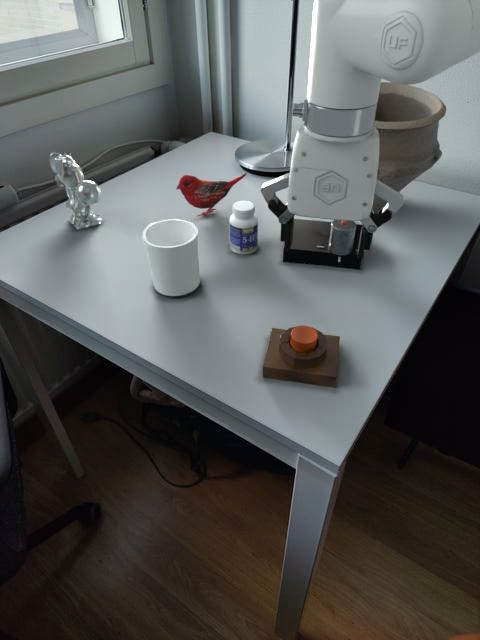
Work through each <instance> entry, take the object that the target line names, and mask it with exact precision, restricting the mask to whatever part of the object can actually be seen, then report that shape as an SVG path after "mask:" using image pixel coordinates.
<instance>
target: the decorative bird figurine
mask: <svg viewBox="0 0 480 640" xmlns="http://www.w3.org/2000/svg"><path fill="white" fill-rule="evenodd" d="M247 175H248V173H244V174H241V175H239V176H238V177H235V178H233V179H231V180H229V181H226V180H220V179H200V178H198V177H197V176H196V175H191V174H184V175H182V176H181V177H180V180H179V181H178V185H177V186H176V188H175V190H180V192H181V194H182V195H183V197H184V199H185V201H186V202H187V203H188V204H189V205H190V206H192V207H194V208H195V209H196V208H197V209H201V210H203V209H207V210H206V211H203V212H202V213H200V214H197V215H196V216H195V217H201V216H207V215H209V214H210V213H213V212H214V211H217V209H216V208H215V206H217V205H218V204H219V203H220V202H221V201H222V200H223V199H224V198H226V197H227V196H228V194H229V192H230V190H231V189H232V188H233V187H234V186H235V185H236V184H237V183H238V182H240V181H241V180H242V179H244V178H245V177H246V176H247Z"/></svg>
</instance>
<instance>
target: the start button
mask: <svg viewBox="0 0 480 640" xmlns="http://www.w3.org/2000/svg"><path fill="white" fill-rule="evenodd" d="M296 326H297V327H296ZM296 326H294V327H295V328H294V329H293V330H292V332H291V341H290V344H291V346H292V348H293V349H294V350H296V351H298V352H304V353H306V352H311V351H313V350H314V349H315V348H316V345H317V338H318V334H317V332H316V330H315V329H316V328H315V329H313V328H314V327H313V326H309V325H296ZM312 327H313V328H312Z"/></svg>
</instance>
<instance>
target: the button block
mask: <svg viewBox="0 0 480 640" xmlns="http://www.w3.org/2000/svg"><path fill="white" fill-rule="evenodd" d="M297 326H298V325H295V326H291V327H288V328H287V329H285V328H277V327H271V328H270V333H269V338H268V341H267V347H266V352H265V356H264V359H263V364H262V378H264V379H273V380H279V381H287V382H293V383H300V384H301V383H302V384H306V385H307V384H308V385H315V386H319V387H321V386H322V387H327V388H336V386H337V380H338V374H339V373H338V372H339V357H340V339H341V336H339V335H332V334H325V333H323V332H322V331H320V330H319V329H316V328H315V327H313V326H311V327H312V328H313V329H315V330H316V332H317V334H318V338H317V345H316V348H315V349H314V350H313V351H311V352H306V353H304V352H298V351H296V350H294V349H293V348H292V346H291V344H290V341H291V332H292V330H293V329H294V328H295V327H297Z"/></svg>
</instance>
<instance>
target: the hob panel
mask: <svg viewBox="0 0 480 640" xmlns="http://www.w3.org/2000/svg"><path fill="white" fill-rule="evenodd" d="M331 224H332V221H325V220H314V219H313V220H312V219H301V218H294V228H293V240H292V244H291V248H290V250H288V251H284V248H283V251H282V263H289V264H300V265H308V266H319V267H327V268H328V267H330V268H339V269H348V270H358V271H360V270H361V268H362V264H363V263H362V262H363V259H359V258H357V257H358V245H359V240H360V234H361V228H362V223H361V224H360V223H356V230H355V236H354V242H353V248H352V252H351V253H349V254H347V255H336V254H333V253H332V252H330V251H329V249H328V247H329V239H330V231H331ZM284 246H285V243H284V244H283V247H284Z"/></svg>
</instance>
